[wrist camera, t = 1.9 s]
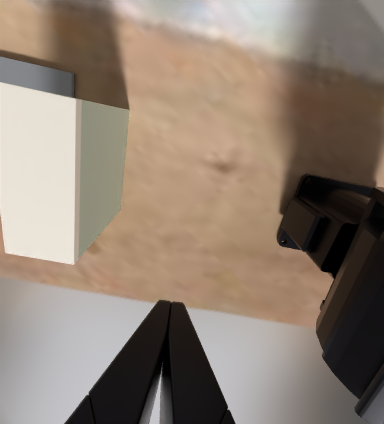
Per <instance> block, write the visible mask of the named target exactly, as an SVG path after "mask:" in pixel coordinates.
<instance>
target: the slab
mask: <svg viewBox="0 0 384 424" xmlns="http://www.w3.org/2000/svg"><path fill="white" fill-rule="evenodd" d="M129 111H130V110H127V109H123V108H118V107H114V106H109V105H105V104H100V103H95V102H91V101H86V100H82V99H77V98H73V97H68V96H63V95H58V94H54V93H49V92H44V91H40V90H35V89H30V88H25V87H21V86H16V85H11V84H7V83H2V82H0V213H1V221H2V230H3V238H4V246H5V253H9V254H15V255H21V256H27V257H32V258H38V259H44V260H50V261H56V262H61V263H67V264H73V265H74V264H75V263H76V262H77V260H78V259H79V258H80V257H81V256H82V255H83V253H84V252H85V251H86V250H87V249H88V247H89V246H90V245H91V244H92V243H93V242H94V240H95V239H96V238H97V237H98V236H99V235H100V233H101V232H102V231H103V230H104V229H105V227H106V226H107V225H108V224H109V223H110V222H111V220H112V219H113V218H114V217H115V216H116V214H117V213H118V212H119V211H120V207H121V197H122V186H123V175H124V164H125V154H126V143H127V132H128V121H129Z"/></svg>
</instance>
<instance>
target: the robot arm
mask: <svg viewBox="0 0 384 424" xmlns="http://www.w3.org/2000/svg"><path fill="white" fill-rule="evenodd" d="M308 178H310V181H309V182H308V183H306V180H307V179H308ZM281 226H282V228H281V231H280V233H279V236H278V238H277V242H278V244H279V245H280V246H282V247H287V248H292V249H297V250H302V251H303V252H306V253H307V255H308V256H309V257H310V258H311V259H312V260H313V262H314V263H315V264H316V265H317V266H318V267H319V269H320V270H321V271H323V272H328V274H329V275H330V276H331V277H332V278H333V279H334V281H333V283H332V285H331V287H330V290H329V292H328V294H327V296H326V299H325V300H323V301H322V303H321V306H320V310H321V312H320V314H319V316H318V319H317V322H316V333H317V336H318V339H319V342H320V344H321V347H322V349H323V353H322V357H323V359H324V361H325V362H326V364H327V365H328V366H329V368H330V369H331V371H332V372H333V373H334V375H335V376H336V377H337V378H338V379H339V380H340V381H341V382H342V383H343V384H344V385H345V386H346V388H348V390H349V391H350V392H352V393H353V394H354V395H355V396H356V397H357V398H358V399H360V400H359V401H358V403H357V404H356V406H355V407H354V408H355V412H356V413H357V414H358V415H359V416H360V417H361V418H363V419H364V420H366V421H367V422H369V423H371V424H384V188H383V187H375V186H373V188H372V187H367V186H362V185H358V184H353V183H348V182H344V181H339V180H334V179H330V178H325V177H320V176H316V175H311V174H306V175H304V176H302V178H301V180H300V182H299V185H298V187H297V190H296V193H295V195H294V197H293V198H292V199H291V200H290V203H289V205H288V208H287V210H286V213H285V215H284V218H283V221H282V223H281ZM284 239H286V240H285V241H284V242H282V240H284ZM162 364H163V365H162ZM161 370H162V373H161ZM160 376H161V395H160V424H235V421H234V419H233V417H232V414H231V412H230V410H227V409H228V406H227V403H226V401H225V399H224V396H223V394H222V391H221V389H220V387H219V384H218V382H217V380H216V377H215V375H214V373H213V370H212V368H211V366H210V364H209V361H208V359H207V356H206V354H205V352H204V349H203V347H202V345H201V342H200V340H199V338H198V335H197V333H196V331H195V328H194V326H193V324H192V322H191V319H190V317H189V314H188V312H187V310H186V307H185V305H184V303H182V302H174V301H173V302H172V303H171V302H170V301H166V300H159V301H158V302H157V303H156V305H155V306H154V307H153V309H152V310H151V311H150V313H149V314H148V315H147V316H146V318H145V319H144V320H143V322H142V323H141V324H140V326H139V327H138V328H137V330H136V331H135V332H134V334H133V335H132V336H131V338H130V339H129V340H128V342H127V343H126V344H125V345H124V347H123V348H122V350H121V351H120V352H119V353H118V355H117V356H116V357H115V359H114V360H113V361H112V362H111V364H110V365H109V366H108V368H107V369H106V370H105V372H104V373H103V374H102V376H101V377H100V378H99V380H98V381H97V382H96V384H95V385H94V386H93V388H92V389H91V390H90V391H89V395H86V396H85V398H84V399H83V400H82V402H81V403H80V404H79V406H78V407H77V408H76V409H75V411H74V412H73V413H72V415H71V416H70V417H69V418H68V420H67V421H66V422H65V423H64V424H149V422H150V417H151V413H152V409H153V405H154V401H155V397H156V393H157V389H158V385H159V380H160Z"/></svg>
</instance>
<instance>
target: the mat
mask: <svg viewBox="0 0 384 424" xmlns="http://www.w3.org/2000/svg"><path fill="white" fill-rule="evenodd" d="M0 82H2V83H7V84H11V85H16V86H21V87H25V88H30V89H35V90H40V91H44V92H49V93H54V94H58V95H63V96H68V97H73V98H74V74H73V73H70V72H66V71H61V70H57V69H53V68H48V67H44V66H40V65H35V64H31V63H27V62H22V61H18V60H13V59H9V58H5V57H0Z"/></svg>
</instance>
